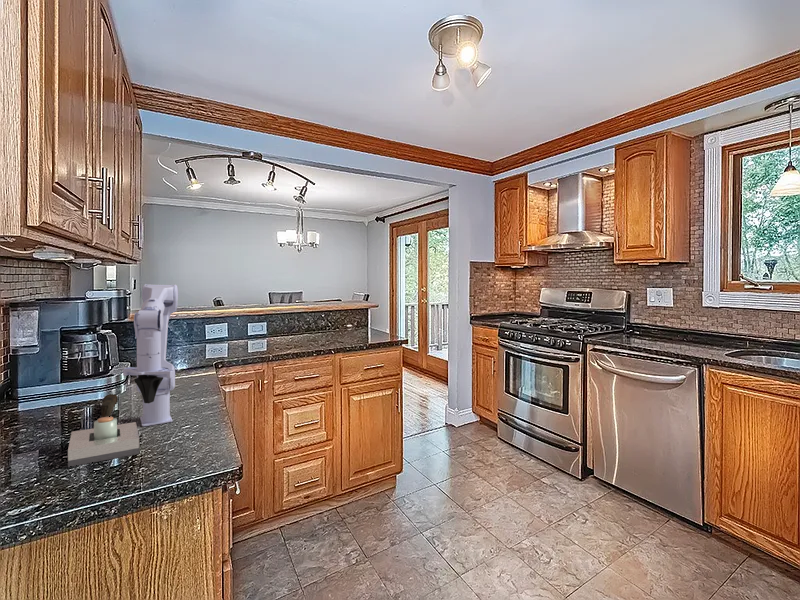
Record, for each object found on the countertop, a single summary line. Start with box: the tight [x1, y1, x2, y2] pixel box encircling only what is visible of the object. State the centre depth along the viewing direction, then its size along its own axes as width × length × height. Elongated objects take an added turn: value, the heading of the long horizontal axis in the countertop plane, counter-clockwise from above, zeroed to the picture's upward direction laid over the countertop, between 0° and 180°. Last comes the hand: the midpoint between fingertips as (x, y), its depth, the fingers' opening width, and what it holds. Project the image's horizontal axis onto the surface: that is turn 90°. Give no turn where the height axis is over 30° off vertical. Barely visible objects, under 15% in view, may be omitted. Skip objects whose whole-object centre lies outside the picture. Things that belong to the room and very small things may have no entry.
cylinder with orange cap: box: [93, 416, 118, 441], centre depth 105 cm, size 5×5×7 cm
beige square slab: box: [67, 421, 140, 468], centre depth 105 cm, size 14×14×4 cm
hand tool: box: [100, 393, 119, 418], centre depth 135 cm, size 19×4×5 cm, turn 27°
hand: (149, 402), depth 114 cm, fingers closed
